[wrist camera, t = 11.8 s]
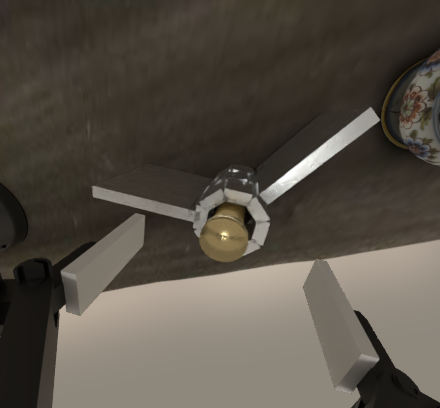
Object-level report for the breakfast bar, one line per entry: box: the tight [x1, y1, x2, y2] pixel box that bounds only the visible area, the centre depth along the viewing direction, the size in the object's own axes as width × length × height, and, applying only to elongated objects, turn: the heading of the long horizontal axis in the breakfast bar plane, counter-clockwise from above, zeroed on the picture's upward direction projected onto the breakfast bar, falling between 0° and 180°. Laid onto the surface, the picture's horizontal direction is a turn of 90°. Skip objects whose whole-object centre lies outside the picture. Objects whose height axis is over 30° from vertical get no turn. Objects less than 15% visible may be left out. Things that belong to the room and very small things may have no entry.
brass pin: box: [199, 201, 248, 262], centre depth 23 cm, size 4×4×15 cm
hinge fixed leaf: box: [92, 164, 270, 256], centre depth 25 cm, size 18×7×12 cm, turn 78°
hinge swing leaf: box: [207, 107, 380, 225], centre depth 23 cm, size 18×7×12 cm, turn 133°
